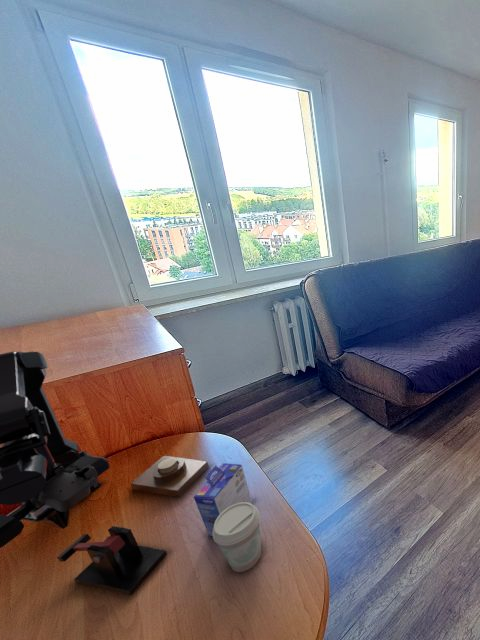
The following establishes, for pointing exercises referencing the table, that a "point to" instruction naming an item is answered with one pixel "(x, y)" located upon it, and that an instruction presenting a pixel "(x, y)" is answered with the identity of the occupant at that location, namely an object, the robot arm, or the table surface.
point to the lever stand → (120, 564)
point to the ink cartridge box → (221, 492)
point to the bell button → (167, 465)
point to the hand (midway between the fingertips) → (63, 527)
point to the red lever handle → (81, 545)
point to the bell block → (170, 477)
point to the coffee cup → (239, 535)
